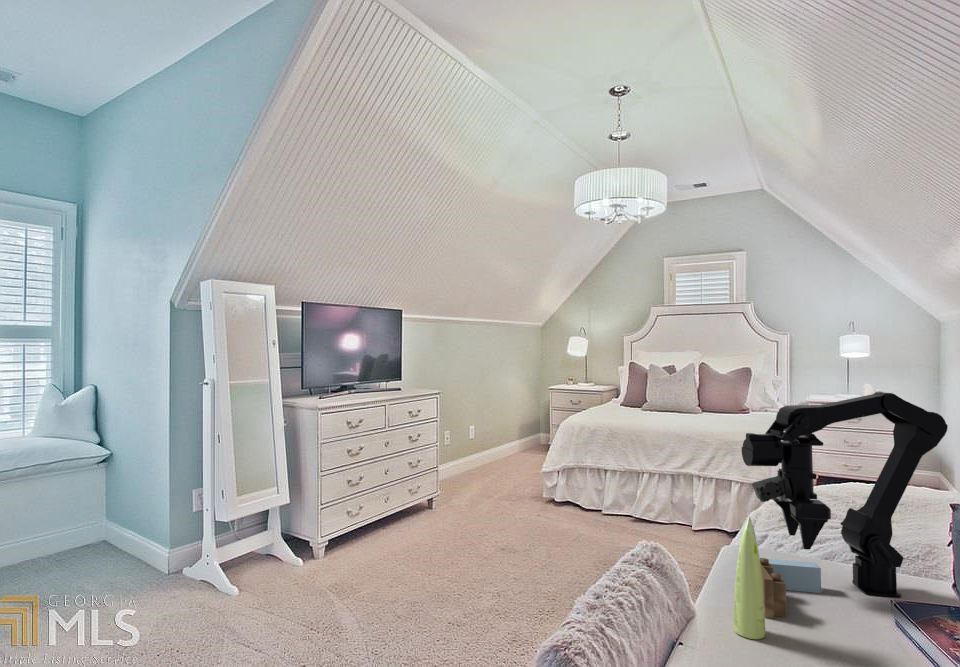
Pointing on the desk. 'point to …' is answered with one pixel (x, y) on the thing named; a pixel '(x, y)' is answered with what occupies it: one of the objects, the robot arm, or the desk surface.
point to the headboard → (773, 591)
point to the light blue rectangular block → (798, 574)
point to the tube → (749, 588)
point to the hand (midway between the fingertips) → (799, 542)
